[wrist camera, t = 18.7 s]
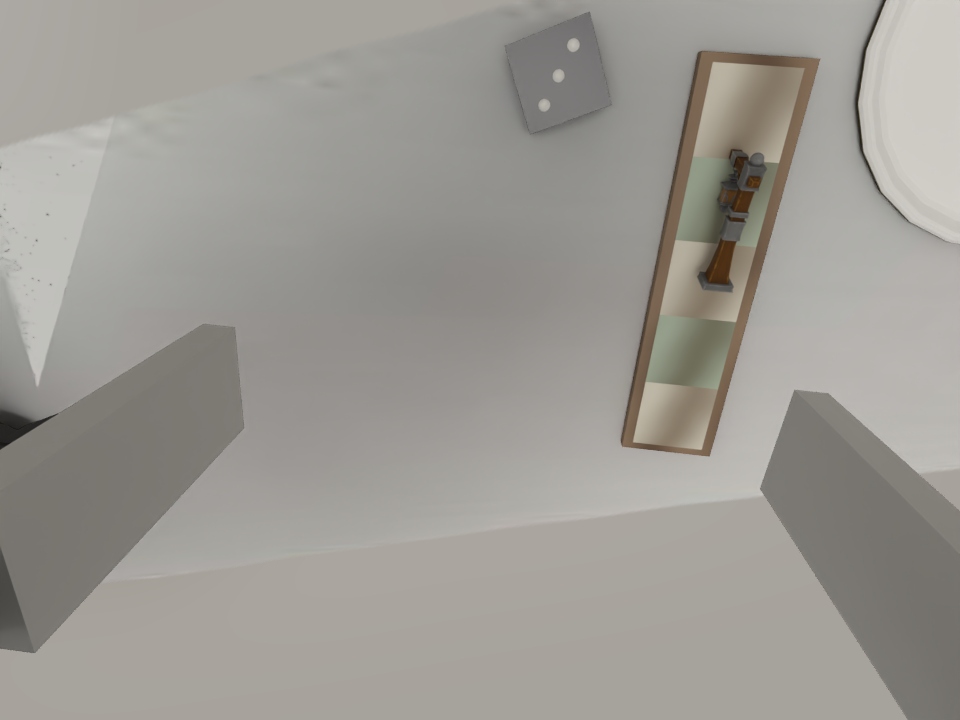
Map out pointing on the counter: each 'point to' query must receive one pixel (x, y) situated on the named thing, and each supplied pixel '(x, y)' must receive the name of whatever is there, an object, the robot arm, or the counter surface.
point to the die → (559, 73)
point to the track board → (712, 246)
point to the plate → (915, 111)
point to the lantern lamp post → (733, 217)
